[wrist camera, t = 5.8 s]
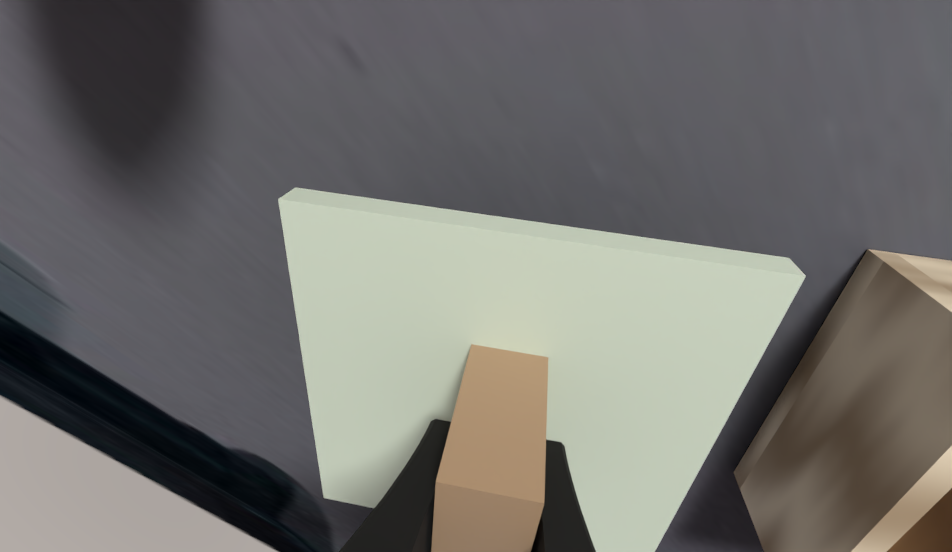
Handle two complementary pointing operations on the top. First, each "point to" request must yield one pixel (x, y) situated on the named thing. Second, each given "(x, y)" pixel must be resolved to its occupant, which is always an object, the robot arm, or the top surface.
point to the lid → (520, 360)
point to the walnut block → (930, 530)
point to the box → (860, 417)
